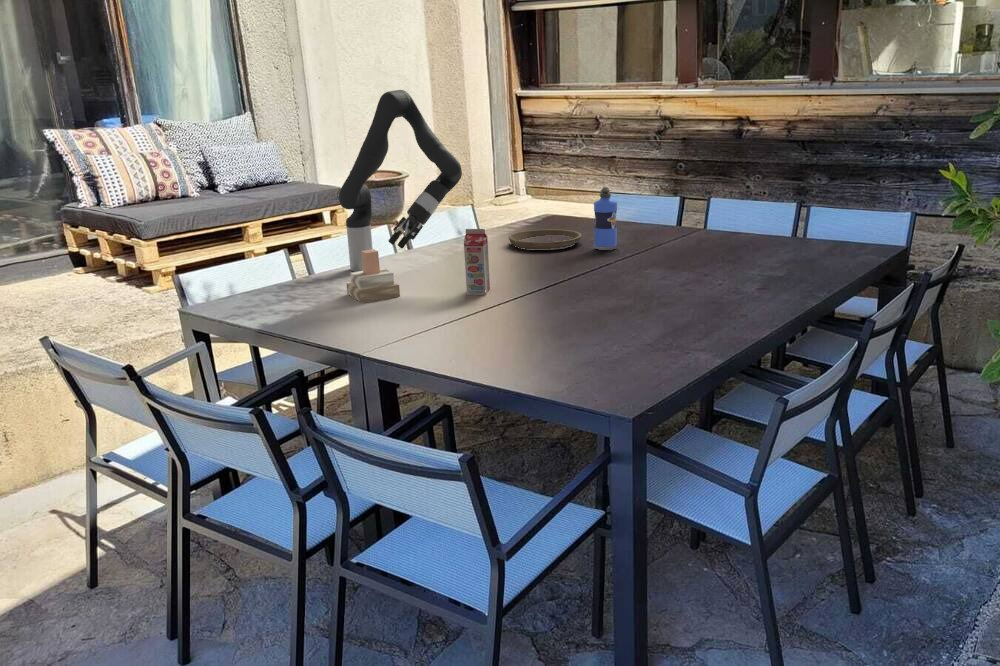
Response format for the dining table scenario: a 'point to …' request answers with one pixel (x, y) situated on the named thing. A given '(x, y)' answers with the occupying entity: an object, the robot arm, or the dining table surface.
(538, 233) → the plant saucer
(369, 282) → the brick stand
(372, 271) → the terracotta brick
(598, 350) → the dining table surface
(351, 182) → the robot arm
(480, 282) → the juice carton
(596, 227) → the water bottle
